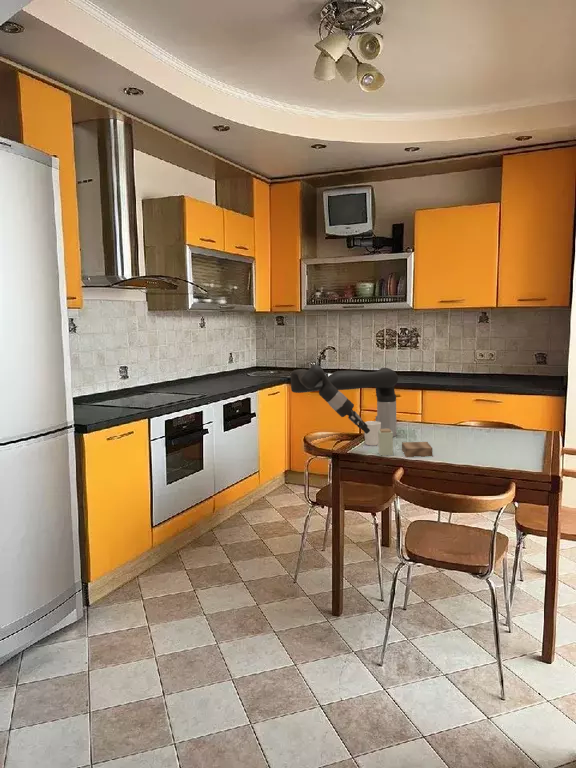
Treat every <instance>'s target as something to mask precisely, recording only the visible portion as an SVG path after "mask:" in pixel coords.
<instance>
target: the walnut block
mask: <svg viewBox="0 0 576 768" xmlns="http://www.w3.org/2000/svg"><path fill="white" fill-rule="evenodd" d="M401 452H402V453H403V452H404V453H403V454H404V456H405V457H406V458H415V457H414V456H421V457H422V458H423V457H425V456H432V457H433V447H432V446H431V444H430V443H429V442H428V441H410V442H409V441H408V442H407V441H406V442H405V441H404V442H401ZM421 457H420V458H421Z"/></svg>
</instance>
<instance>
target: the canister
mask: <svg viewBox="0 0 576 768" xmlns="http://www.w3.org/2000/svg"><path fill="white" fill-rule="evenodd" d="M393 443H394V437H393V432H392V431H391V430H390V429H380V430H378V445H377V446H378V449H377V450H378V452H379V453H378V455H379V454H380V455H393V456H394V449H393V448H394V447H393V446H394V444H393ZM380 455H379V456H380Z"/></svg>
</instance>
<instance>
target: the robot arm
mask: <svg viewBox="0 0 576 768" xmlns="http://www.w3.org/2000/svg"><path fill="white" fill-rule="evenodd" d="M398 380H399V376H398V374H397V372H396V371H395V370H393V369H392V368H388V367H382V368H379V370H376V371H362V370H349V369H348V370H337V371H334V372H333V373H331V374H329V375H328V376H327V375H326V372H325V371H324V369H323V368H322V366H320V365H318V364H313V365H311V366H310V367H309V368H308V369H303V368H299V369H295V370H292V371H291V372H290V386H291V387H290V390H291V392H292V393H295V394H300V393H301V394H302V393H311V392H318V395H319V396H320V397H321V398H322V399H323V400H324V402H326V403H327V404H328V405H329V406H330V407H331V409H332V410H334V412H336V413H337V414H338V415H339V417H341V418H344V417H346V416H347V418H348V420H350V421H351V422H352V423H353V424H354V425H355V426H356V427H357V428H359V429H361V430H362V431H363V433H364V432H365V433H366V434H367V433H368V432H369V431H370V429H369V428H368V427H367V424H366V423H365V422H366V421H364V420H363V419H362V418H361V416H360V415H359V414H358V413H357V411H356V410H353V408H354V406H355V404H354V403H353V402H352V401H351V400H350V399H349V398H348V397H347V396H346V395H344V393H342V391H344V390H347V391H348V390H357V389H358V390H359V389H364V388H375V396H376V401H377V402H376V416H375V421H378V422H381V429H390V430H391V431H392V432H393V438H394V437H396V436H397V395H396V391H395V386H396V385H397V383H398Z"/></svg>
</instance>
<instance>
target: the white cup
mask: <svg viewBox="0 0 576 768" xmlns="http://www.w3.org/2000/svg"><path fill="white" fill-rule="evenodd" d="M364 422H365V423H366V424H367V427H368V428H369V429H370V431H369V432H368V433H367V434H366V433H365V432H364V431H363V433H364V444H365V445H366V444H367V446H378V430H380V429H381V422H378V421H376V420H368V421H364Z"/></svg>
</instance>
